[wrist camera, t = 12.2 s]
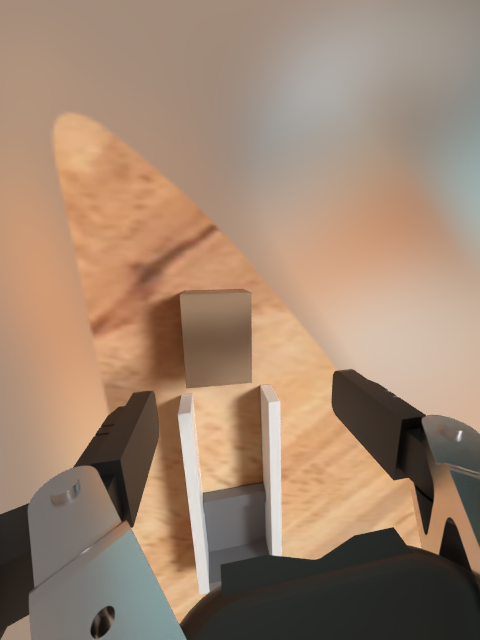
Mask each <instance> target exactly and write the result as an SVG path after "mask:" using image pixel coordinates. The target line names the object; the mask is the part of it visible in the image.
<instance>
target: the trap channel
mask: <svg viewBox="0 0 480 640" xmlns="http://www.w3.org/2000/svg"><path fill="white" fill-rule="evenodd" d="M260 391H261V423H262V454H263V483H257V484H252V485H246V486H241V487H235V488H230V489H224V490H219V491H213V492H207V493H203V490H202V481H201V471H200V461H199V452H198V442H197V432H196V422H195V413H194V403H193V394H185V395H181V400H180V406H179V411H178V421H179V429H180V437H181V446H182V454H183V462H184V470H185V479H186V487H187V495H188V503H189V512H190V520H191V528H192V536H193V545H194V553H195V561H196V569H197V578H198V586H199V594H200V595H202V594H206V593H209V592H211V591H212V590H214V589H215V588H217V587H218V586H220V585H221V567H220V565H221V564H226V563H230V562H235V561H240V560H244V559H249V558H254V557H258V556H263V555H273V556H282V524H281V439H280V400H279V398H278V397H277V395H276V393H275V391H274V390H273V388H272V386H271V385H270V384H268V385H260ZM205 519H206V520H205ZM207 538H208V539H207Z"/></svg>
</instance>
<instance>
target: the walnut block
mask: <svg viewBox="0 0 480 640" xmlns="http://www.w3.org/2000/svg"><path fill="white" fill-rule="evenodd" d="M180 308H181V322H182V336H183V350H184V364H185V378H186V388H196V387H208V386H220V385H231V384H243V383H252V341H251V292H248V291H246V290H244V289H228V290H190V291H184V292H182V293H181V294H180Z"/></svg>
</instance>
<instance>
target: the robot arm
mask: <svg viewBox="0 0 480 640" xmlns="http://www.w3.org/2000/svg"><path fill="white" fill-rule="evenodd" d="M332 408H333V411H334V413H335V415H336V416H337V417H338V418H339V420H340V421H341V422H342V423H343V424H344V425H345V426H346V427H347V428H348V430H349V431H350V432H351V433H352V434H353V435H354V436H355V437H356V439H357V440H358V441H359V442H360V443H361V444H362V445H363V446H364V448H365V449H366V450H367V451H368V452H369V453H370V454H371V455H372V457H373V458H374V459H375V460H376V461H377V462H378V463H379V464H380V466H381V467H382V468H383V469H384V470H385V471H386V472H387V473H388V474H389V476H390V477H391V478H392V479H393V480H398V479H404V478H410V479H411V480H412V485H411V493H412V498H413V504H414V509H415V514H416V520H417V525H418V530H419V536H420V541H421V547H422V549H421V548H417V547H413V546H408V545H406V544H405V542H404V541H403V540H402V538H401V537H400V536H399V534H398V533H397V531H396V530H395V529H394V527H393V528H388V529H383V530H379V531H374V532H369V533H365V534H360V535H355V536H353V537H352V538H350V539H349V540H347V541H346V542H344V543H343V544H341V545H340V546H338V547H337V548H335V549H334V550H332V551H331V552H329V553H328V554H326V555H325V556H323V557H322V558H320V559H317V560H309V559H300V558H291V557H282V556H273V555H263V556H258V557H254V558H249V559H244V560H240V561H235V562H230V563H226V564H221V565H220V567H221V585H220V586H218V587H217V588H215V589H214V590H212V591H211V592H209V593H208V594H207V595H206V596H205V597H203V598H202V599H201V600H200V601H199V602H198V603H197V604H196V605H195V606H194V607H193V608H192V609H191V610H190V611H189V612H188V614H187V615H186V616H185V618H184V619H183V620H182V622H181V623H180V624H179V623H178V621H177V619H176V617H175V615H174V613H173V611H172V609H171V607H170V605H169V603H168V601H167V599H166V597H165V595H164V593H163V591H162V589H161V587H160V585H159V583H158V581H157V579H156V577H155V575H154V573H153V571H152V569H151V567H150V565H149V563H148V561H147V559H146V557H145V555H144V553H143V551H142V549H141V547H140V545H139V543H138V541H137V539H136V537H135V535H134V533H133V531H132V529H131V528H132V527H133V526H134V523H135V519H136V516H137V512H138V509H139V505H140V502H141V498H142V495H143V491H144V488H145V484H146V481H147V477H148V473H149V470H150V466H151V463H152V459H153V456H154V452H155V449H156V445H157V442H158V437H159V421H158V414H157V407H156V399H155V394H154V391H145V392H136V393H133V394H132V396H131V397H130V399H129V401H128V402H127V404H126V406H123V407H118V408H117V409H116V410H115V411H113V412H112V413H111V414H110V415H108V417H107V418H106V420H105V421H104V422H103V424H102V426H101V428H99V430H98V431H97V433H96V436H95V437H93V439H92V440H91V442H90V443H89V445H88V446H87V448H86V449H85V451H84V452H83V454H82V455H81V457H80V458H79V460H78V461H77V463H76V464H75V466H74V467H73V468H71V469H69V470H66V471H64V472H62V473H60V474H58V475H57V476H55V477H53V478H52V479H50V480H49V481H48V482H47V483H45V484H44V485H43V486H42V487H41V488H40V489H39V490H38V491H37V492H36V493H35V495H34V496H33V498H32V499H31V501H30V503H28V504H26V505H23V506H21V507H18V508H16V509H13V510H11V511H8V512H6V513H3V514H0V639H1V637H2V636H3V634H4V632H5V630H6V628H7V626H9V625H11V624H13V623H15V622H16V621H18V620H20V619H22V618H23V617H25V616H27V615H30V630H31V640H480V434H479V433H478V432H477V431H476V430H474V429H473V428H472V427H470V426H468V425H466V424H465V423H462V422H460V421H458V420H455V419H452V418H449V417H445V416H440V415H427V416H426V415H425V414H423V413H422V412H420V411H419V410H417V409H416V408H414V407H413V406H411V405H409V404H408V403H407V402H405V401H404V400H402V399H401V398H399V397H397V396H396V395H395V394H393V393H391V392H388V390H387V389H385V388H384V387H382V386H381V385H379V384H378V383H375V382H372V381H370V380H367V379H366V378H365V377H363V376H362V375H360V374H359V373H357V372H356V371H355V370H352V369H349V370H340V371H335V372H334V374H333V385H332Z"/></svg>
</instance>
